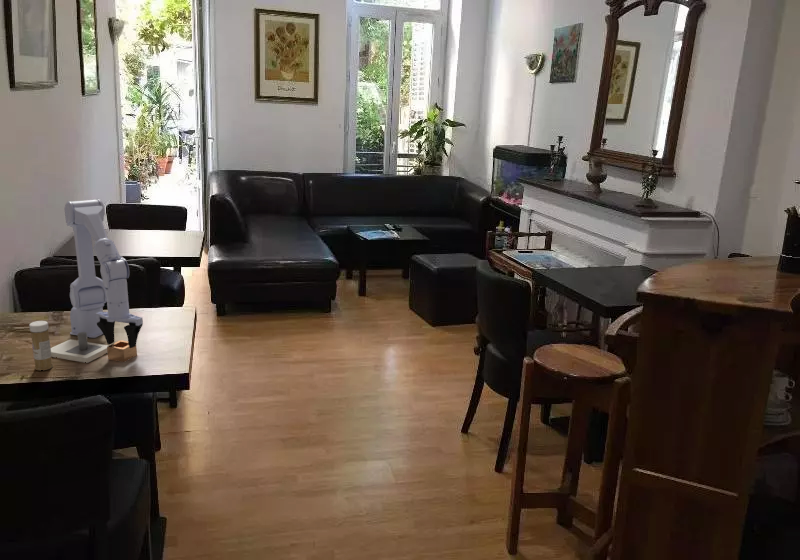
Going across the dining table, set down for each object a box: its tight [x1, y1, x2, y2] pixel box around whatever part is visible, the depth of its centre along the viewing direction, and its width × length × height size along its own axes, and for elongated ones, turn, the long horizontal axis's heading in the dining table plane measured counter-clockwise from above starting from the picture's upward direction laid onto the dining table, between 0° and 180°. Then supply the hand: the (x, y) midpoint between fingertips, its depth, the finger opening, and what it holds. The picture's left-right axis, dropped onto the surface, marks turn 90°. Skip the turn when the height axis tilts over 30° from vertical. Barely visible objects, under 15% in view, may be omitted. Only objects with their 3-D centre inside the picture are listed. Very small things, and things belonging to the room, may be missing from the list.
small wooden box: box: [107, 339, 138, 363], centre depth 193 cm, size 6×6×4 cm
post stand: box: [50, 332, 109, 364], centre depth 195 cm, size 15×10×6 cm, turn 73°
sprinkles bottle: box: [28, 320, 54, 371], centre depth 183 cm, size 5×5×13 cm
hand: (121, 345), depth 192 cm, fingers open, 7 cm apart
